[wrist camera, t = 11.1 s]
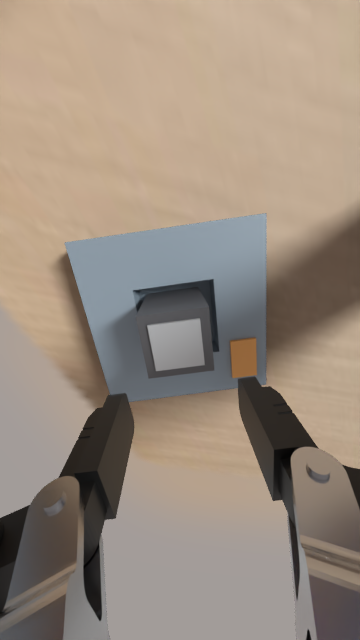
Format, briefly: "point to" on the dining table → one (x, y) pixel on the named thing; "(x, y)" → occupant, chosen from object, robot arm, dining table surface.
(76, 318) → the dining table surface
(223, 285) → the socket plate
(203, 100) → the dining table surface
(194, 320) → the plug
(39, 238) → the dining table surface
